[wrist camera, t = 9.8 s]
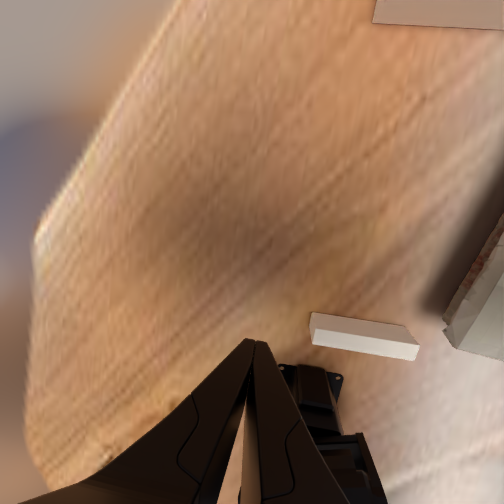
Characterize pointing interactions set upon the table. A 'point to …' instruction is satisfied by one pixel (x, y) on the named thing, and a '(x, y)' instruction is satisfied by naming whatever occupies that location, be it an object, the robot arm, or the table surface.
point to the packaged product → (480, 302)
